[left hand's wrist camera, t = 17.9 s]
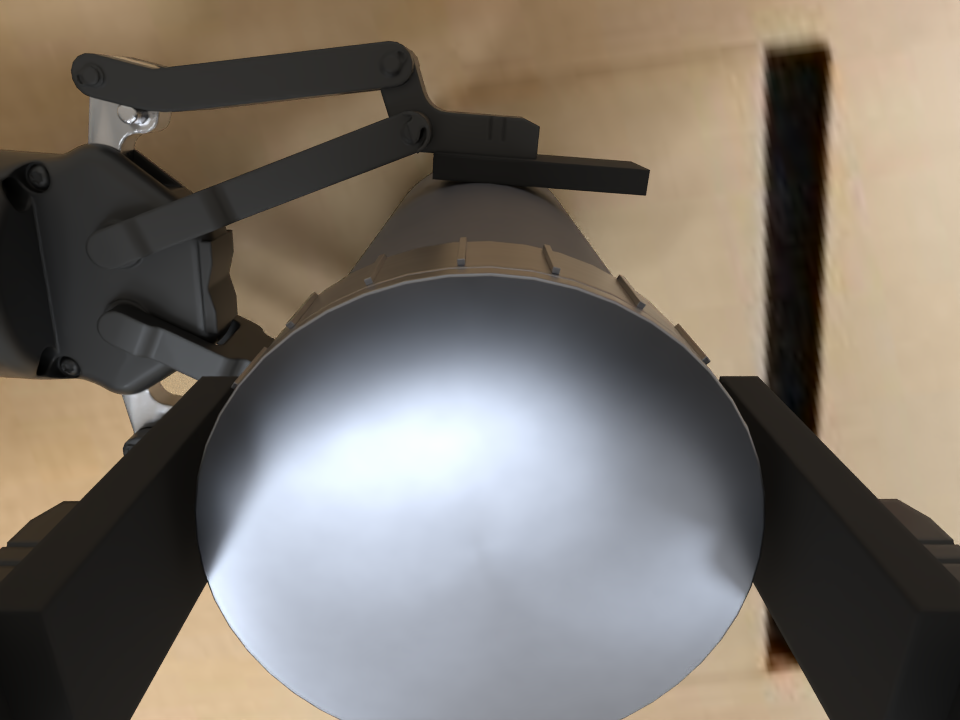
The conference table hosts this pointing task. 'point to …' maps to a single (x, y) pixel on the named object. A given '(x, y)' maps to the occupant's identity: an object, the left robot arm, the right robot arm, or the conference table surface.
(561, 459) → the lid
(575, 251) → the jar
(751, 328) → the conference table surface
